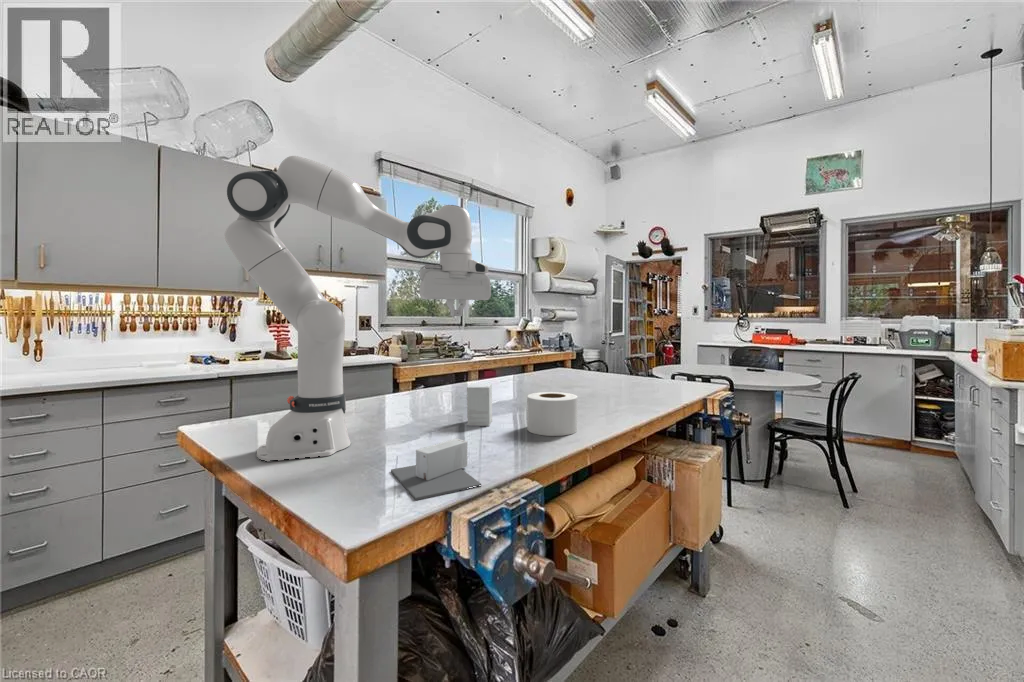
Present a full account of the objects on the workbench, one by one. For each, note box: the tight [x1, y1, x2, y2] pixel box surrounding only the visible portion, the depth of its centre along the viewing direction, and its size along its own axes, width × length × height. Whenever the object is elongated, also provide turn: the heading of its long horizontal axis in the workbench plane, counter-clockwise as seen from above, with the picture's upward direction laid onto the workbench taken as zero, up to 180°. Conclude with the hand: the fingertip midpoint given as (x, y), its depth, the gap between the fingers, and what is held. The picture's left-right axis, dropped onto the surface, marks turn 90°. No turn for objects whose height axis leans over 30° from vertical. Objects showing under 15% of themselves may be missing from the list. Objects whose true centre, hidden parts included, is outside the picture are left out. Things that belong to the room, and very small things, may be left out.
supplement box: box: [466, 383, 493, 427], centre depth 145 cm, size 7×7×13 cm
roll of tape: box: [526, 391, 578, 437], centre depth 137 cm, size 16×15×11 cm
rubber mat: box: [390, 464, 482, 501], centre depth 97 cm, size 14×18×1 cm
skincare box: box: [415, 438, 468, 481], centre depth 99 cm, size 6×4×12 cm
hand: (456, 316), depth 124 cm, fingers closed
